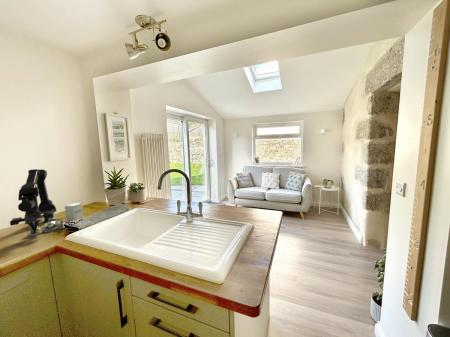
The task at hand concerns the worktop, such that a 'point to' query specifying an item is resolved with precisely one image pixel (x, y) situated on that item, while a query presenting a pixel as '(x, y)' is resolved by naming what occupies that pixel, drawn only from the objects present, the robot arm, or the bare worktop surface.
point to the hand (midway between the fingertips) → (35, 231)
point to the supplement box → (74, 211)
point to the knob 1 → (36, 230)
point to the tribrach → (48, 228)
